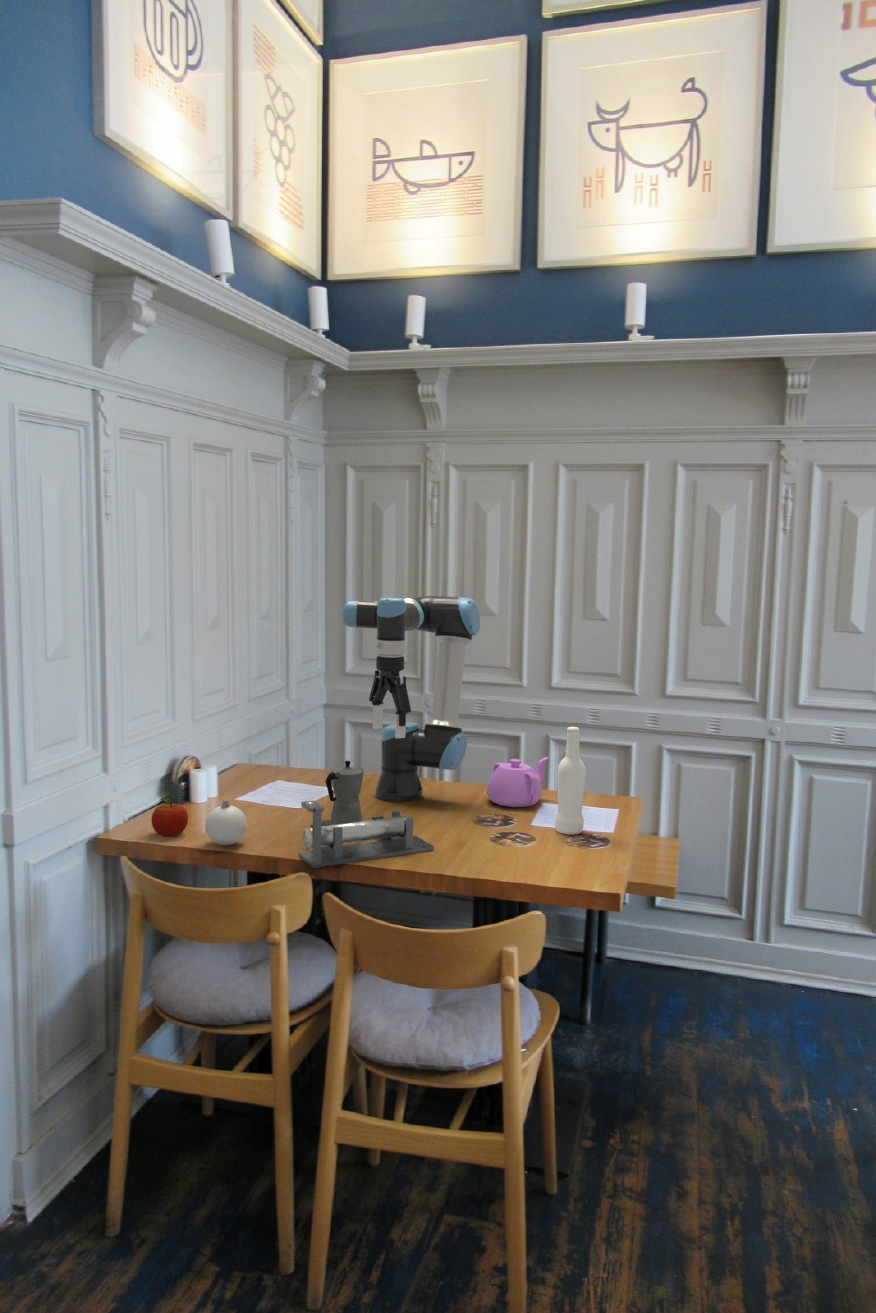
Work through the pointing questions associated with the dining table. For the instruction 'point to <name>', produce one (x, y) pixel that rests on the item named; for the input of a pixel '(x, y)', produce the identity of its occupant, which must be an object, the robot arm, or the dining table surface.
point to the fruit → (169, 819)
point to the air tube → (358, 831)
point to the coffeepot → (345, 794)
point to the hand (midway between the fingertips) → (388, 733)
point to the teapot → (516, 784)
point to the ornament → (225, 824)
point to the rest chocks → (372, 819)
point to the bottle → (570, 787)
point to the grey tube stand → (358, 851)
